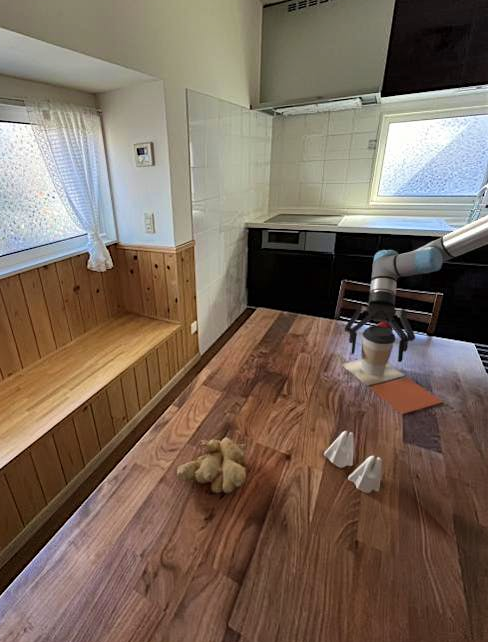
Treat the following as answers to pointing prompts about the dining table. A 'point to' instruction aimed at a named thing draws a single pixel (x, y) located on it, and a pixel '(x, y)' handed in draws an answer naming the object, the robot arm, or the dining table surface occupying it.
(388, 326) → the onion
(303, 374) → the dining table surface
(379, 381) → the cream mat
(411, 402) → the terracotta mat
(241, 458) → the ginger root
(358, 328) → the robot arm
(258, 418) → the dining table surface
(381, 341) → the coffee cup
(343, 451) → the shaker set
